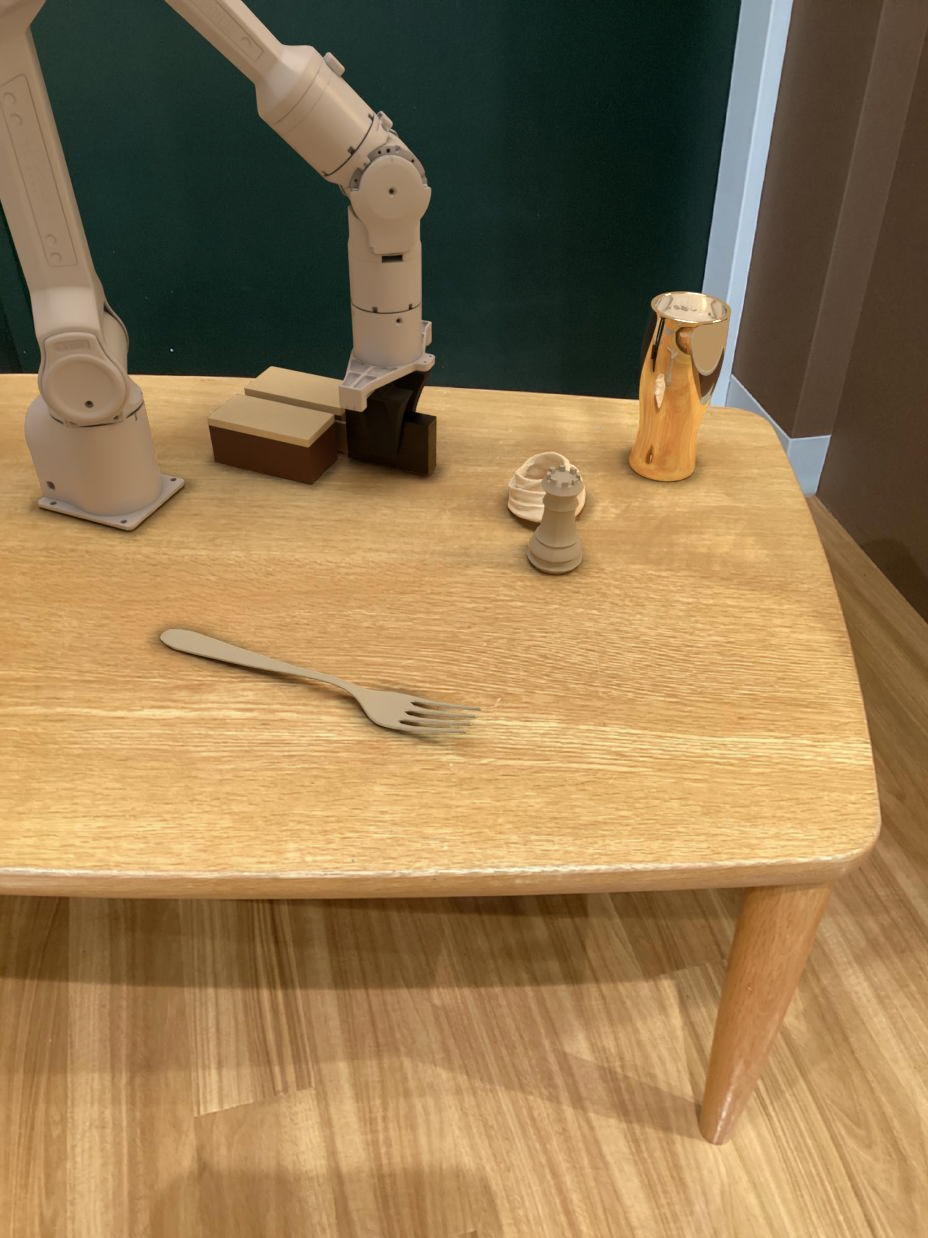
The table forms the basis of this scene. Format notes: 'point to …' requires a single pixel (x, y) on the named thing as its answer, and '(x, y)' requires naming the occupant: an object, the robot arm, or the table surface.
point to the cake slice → (298, 390)
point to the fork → (376, 704)
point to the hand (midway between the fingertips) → (390, 448)
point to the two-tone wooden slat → (413, 446)
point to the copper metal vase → (677, 380)
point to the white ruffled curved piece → (536, 486)
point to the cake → (273, 438)
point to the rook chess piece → (558, 523)
